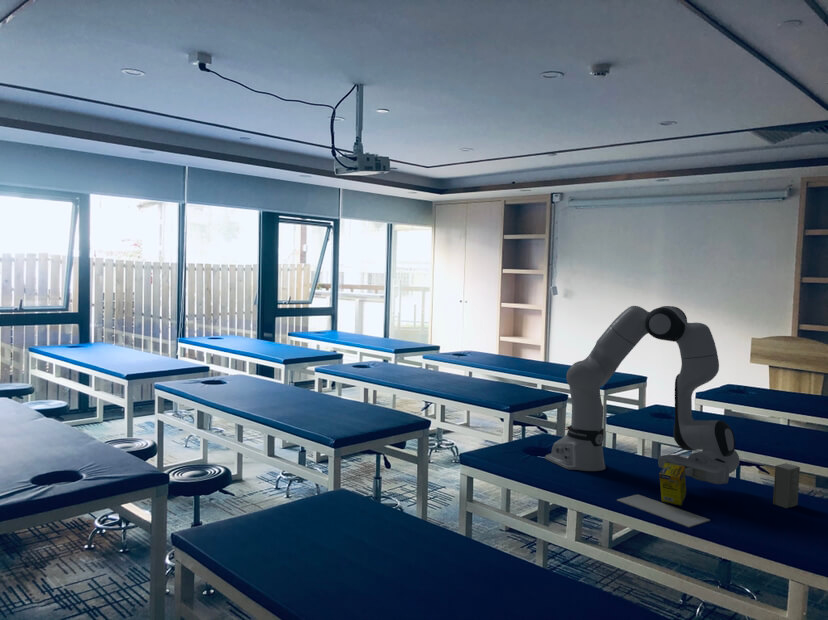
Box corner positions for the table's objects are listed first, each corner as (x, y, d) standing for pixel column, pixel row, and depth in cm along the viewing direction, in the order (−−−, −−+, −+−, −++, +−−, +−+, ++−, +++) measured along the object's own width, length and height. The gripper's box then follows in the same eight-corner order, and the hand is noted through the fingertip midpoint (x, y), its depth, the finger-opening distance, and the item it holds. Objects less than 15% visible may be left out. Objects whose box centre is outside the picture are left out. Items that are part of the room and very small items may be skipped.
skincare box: (783, 501, 194) (786, 462, 194) (798, 505, 191) (800, 466, 190) (772, 504, 191) (774, 465, 191) (786, 508, 187) (789, 469, 187)
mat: (616, 500, 190) (616, 499, 190) (637, 495, 195) (637, 494, 195) (689, 527, 170) (689, 526, 170) (710, 520, 175) (710, 519, 175)
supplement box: (682, 507, 185) (679, 477, 181) (661, 503, 189) (658, 473, 185) (687, 495, 189) (685, 466, 186) (666, 491, 193) (664, 462, 189)
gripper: (673, 448, 205) (647, 453, 198) (734, 464, 188) (708, 470, 181) (672, 467, 206) (646, 472, 198) (732, 484, 189) (707, 491, 181)
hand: (676, 471), depth 189 cm, fingers closed
